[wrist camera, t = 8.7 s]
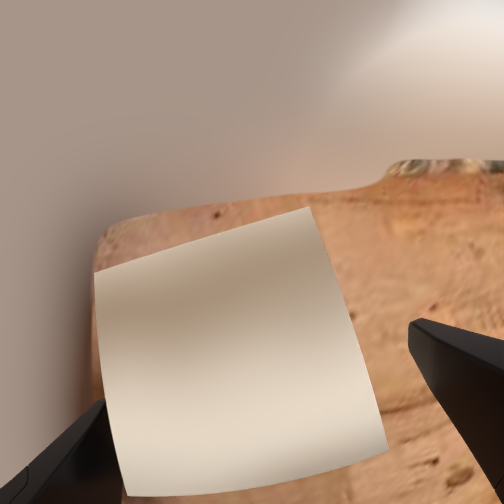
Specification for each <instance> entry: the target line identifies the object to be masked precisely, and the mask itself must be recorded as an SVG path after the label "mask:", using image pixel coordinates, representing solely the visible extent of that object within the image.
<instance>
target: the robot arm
mask: <svg viewBox="0 0 504 504" xmlns="http://www.w3.org/2000/svg"><path fill="white" fill-rule="evenodd" d="M408 348H409V351H410V353H411V355H412V357H413V359H414V360H415V362H416V364H417V366H418V368H419V370H420V371H421V373H422V375H423V377H424V379H425V381H426V383H427V385H428V386H429V388H430V390H431V391H432V393H433V395H434V396H435V397H436V399H437V400H438V402H439V403H440V405H441V406H442V408H443V409H444V411H445V412H446V414H447V415H448V417H449V418H450V420H451V421H452V423H453V424H454V426H455V427H456V429H457V430H458V432H459V433H460V435H461V436H462V438H463V440H464V441H465V443H466V444H467V446H468V447H469V449H470V451H471V452H472V454H473V455H474V457H475V459H476V460H477V462H478V463H479V465H480V467H481V468H482V470H483V472H484V473H485V475H486V477H487V478H488V480H489V482H490V483H491V485H492V487H493V488H494V489H495V492H496V494H497V496H498V497H499V499H500V501H501V503H502V504H504V340H500V339H496V338H493V337H489V336H485V335H482V334H478V333H474V332H471V331H467V330H463V329H460V328H456V327H452V326H449V325H445V324H442V323H438V322H435V321H431V320H427V319H424V318H419V319H417V320H414V321H412V322H410V323H409V327H408ZM122 487H123V478H122V474H121V470H120V466H119V462H118V458H117V454H116V450H115V445H114V441H113V436H112V431H111V426H110V421H109V416H108V410H107V405H106V399H104V400H98V401H97V402H95V403H94V404H93V405H92V406H91V407H90V408H89V409H88V410H87V411H86V412H85V413H84V414H83V415H81V416H80V417H79V418H78V419H77V420H76V421H75V422H74V423H73V424H72V425H71V426H70V427H69V428H68V429H66V430H65V431H64V432H63V433H62V434H61V435H60V436H59V437H58V438H57V439H56V440H54V441H53V442H52V443H51V444H50V445H49V446H48V447H47V448H46V449H45V450H44V451H43V452H42V453H40V454H39V455H38V456H37V457H36V458H35V459H34V460H33V461H32V462H31V463H30V464H29V465H28V466H26V467H25V468H24V469H23V470H22V471H21V472H20V473H18V474H17V475H16V476H15V477H14V478H13V479H12V480H10V481H9V482H8V483H7V484H6V485H4V486H3V487H2V488H0V504H121V500H122Z"/></svg>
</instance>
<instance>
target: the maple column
mask: <svg viewBox="0 0 504 504" xmlns="http://www.w3.org/2000/svg"><path fill="white" fill-rule="evenodd" d="M94 282H95V306H96V321H97V334H98V345H99V354H100V363H101V371H102V379H103V386H104V392H105V399H106V405H107V410H108V416H109V421H110V426H111V431H112V436H113V441H114V445H115V450H116V454H117V458H118V462H119V466H120V470H121V474H122V478H123V482H124V485H125V489H126V492H127V496H185V495H200V494H211V493H221V492H229V491H237V490H244V489H250V488H257V487H262V486H268V485H273V484H278V483H283V482H288V481H292V480H297V479H301V478H305V477H309V476H313V475H317V474H320V473H324V472H328V471H331V470H335V469H338V468H341V467H344V466H348V465H351V464H354V463H357V462H360V461H363V460H366V459H368V458H371V457H374V456H377V455H379V454H382V453H385V452H387V451H389V447H388V443H387V439H386V436H385V432H384V428H383V424H382V421H381V417H380V413H379V410H378V406H377V402H376V399H375V395H374V392H373V389H372V385H371V382H370V378H369V375H368V372H367V368H366V365H365V362H364V359H363V356H362V352H361V349H360V346H359V343H358V340H357V337H356V334H355V331H354V328H353V325H352V322H351V319H350V316H349V313H348V310H347V307H346V304H345V301H344V298H343V295H342V293H341V290H340V287H339V284H338V281H337V278H336V276H335V273H334V270H333V267H332V265H331V262H330V259H329V257H328V254H327V251H326V249H325V246H324V243H323V241H322V238H321V236H320V233H319V230H318V228H317V225H316V223H315V220H314V218H313V215H312V213H311V210H310V208H309V207H305V208H302V209H298V210H295V211H291V212H288V213H284V214H281V215H278V216H274V217H271V218H267V219H264V220H261V221H257V222H254V223H251V224H247V225H244V226H241V227H237V228H234V229H231V230H227V231H224V232H221V233H217V234H214V235H211V236H208V237H204V238H201V239H198V240H195V241H192V242H188V243H185V244H182V245H179V246H176V247H172V248H169V249H166V250H163V251H160V252H157V253H154V254H151V255H147V256H144V257H141V258H138V259H135V260H132V261H129V262H126V263H123V264H120V265H117V266H114V267H111V268H108V269H105V270H102V271H99V272H96V273H94Z"/></svg>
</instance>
